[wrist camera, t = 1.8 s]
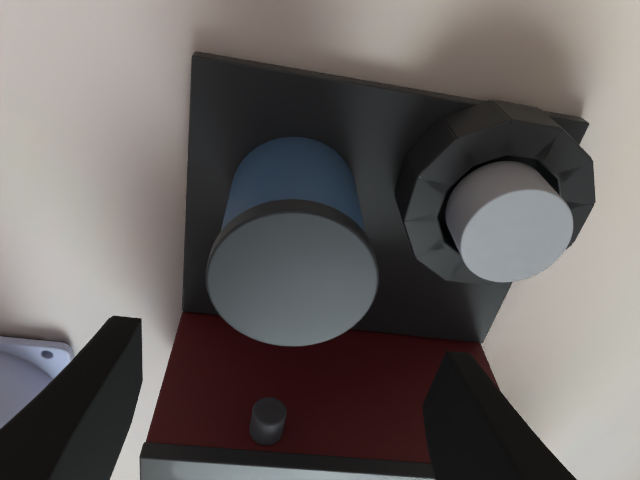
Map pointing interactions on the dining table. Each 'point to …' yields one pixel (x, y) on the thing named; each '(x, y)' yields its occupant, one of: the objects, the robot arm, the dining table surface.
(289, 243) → the container
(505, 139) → the dark grey drip tray
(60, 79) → the dining table surface
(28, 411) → the robot arm
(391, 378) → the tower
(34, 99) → the dining table surface
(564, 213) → the power button
